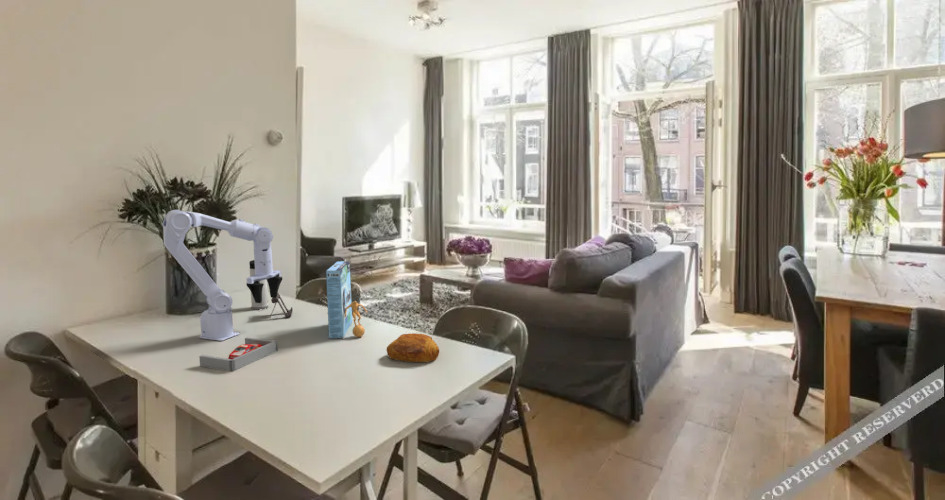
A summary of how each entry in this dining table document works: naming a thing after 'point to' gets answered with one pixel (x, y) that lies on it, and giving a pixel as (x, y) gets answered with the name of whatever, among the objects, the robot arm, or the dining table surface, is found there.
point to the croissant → (413, 348)
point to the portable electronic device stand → (275, 300)
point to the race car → (243, 350)
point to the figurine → (358, 329)
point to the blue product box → (339, 299)
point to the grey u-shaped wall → (242, 360)
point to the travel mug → (264, 290)
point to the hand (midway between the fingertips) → (266, 299)
